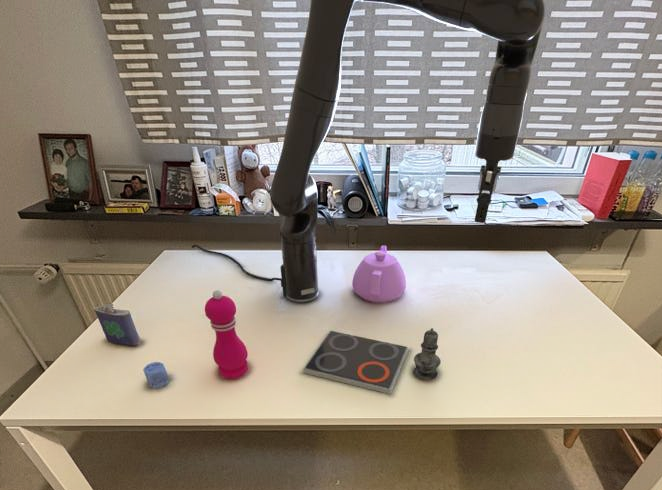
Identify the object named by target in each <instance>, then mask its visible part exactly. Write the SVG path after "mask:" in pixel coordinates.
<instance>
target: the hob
mask: <svg viewBox="0 0 662 490" xmlns="http://www.w3.org/2000/svg"><path fill="white" fill-rule="evenodd" d="M408 352H409V346H406V345H402V344H401V345H400V344H395V343H391V342H386V341H381V340H377V339H373V338H367V337H363V336H357V335H353V334H349V333H344V332H340V331H334V330H330V331H329V332H328V333H327V334H326V336H325V338H324V339H323V340H322V342H321V343H320V345H319V346H318V347H317V349H316V350H315V352H314V353H313V355H312V356H311V357H310V359H309V360H308V362H307V363H306V364H305V366H304V367H303V370H302V371H303V373H304V374H306V375H311V376H315V377H319V378H322V379H327V380H330V381H331V380H332V381H336V382H339V383H343V384H347V385H351V386H356V387H361V388H363V389H368V390H372V391H376V392H380V393H384V394H388V395H391V393H392V391H393V388H394V386H395V384H396V381H397V380H398V377H399V375H400V371H401V370H402V367H403V364H404V362H405V360H406V358H407V354H408Z"/></svg>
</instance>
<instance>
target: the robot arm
mask: <svg viewBox="0 0 662 490" xmlns="http://www.w3.org/2000/svg"><path fill="white" fill-rule="evenodd" d="M359 2H360V3H376V4H377V3H379V4H386V5H391V6H395V7H398V8H402V9H406V10H408V11H411V12H413V13H416V14H418V15H420V16H423V17H425V18H427V19H429V20H432V21H435V22H438V23H442V24H444V25H447V26H450V27H454V28H457V29H460V30H465V31H470V32H478V33H480V34H482V35H484V36H487V37H490V38H492V39H495V40H497V44H496V45H497V46H496V51H495V58H494V64H493V66H492V68H491V71H490V74H489V78H488V83H487V89H486V94H485V99H484V104H483V107H482V111H481V114H480V119H479V125H478V131H477V135H476V140H475V141H476V142H475V147H474V157H475V158H478V159H480V160H485V165H484V164H481V166H480V170H479V175H478V178H479V180H478V185H477V193H478V196H477V198H476V202H477V205H476V210H475V214H474V215H475V216H474V222H475V223H481V224H485V222H486V221H487V217H488V211H489V206H490V205H491V203H492V196H493V195H494V194H495V193H496V189H497V184H498V180H500V177H501V171H502V166H499V162H501V161H503V162H505V161H509V160H512V159H513V158H514V155H515V152H516V147H517V143H518V139H519V135H520V131H521V126H522V122H523V116H524V107H525V102H526V98H527V94H528V90H529V85H530V80H531V74H532V73H531V72H532V65H533V61H534V58H535V55H536V50H537V47H538V44H539V40H540V36H541V33H542V29H543V25H544V22H545V16H546V5H545V1H544V0H310V7H309V13H308V22H307V26H306V31H305V36H304V39H303V43H302V50H301V54H300V59H299V64H298V69H297V73H296V77H295V81H294V86H293V92H292V97H291V102H290V107H289V113H288V119H287V122H286V123H287V124H286V128H285V132H284V138H283V143H282V149H281V151H280V152H281V153H280V155H279V159H278V163H277V166H276V169H275V172H274V175H273V178H272V181H271V185H270V189H269V190H270V191H269V196H270V202H271V205H272V207H273V209H274V210H275V212H277V213H278V214H279V215H280V216H282V217H283V221H282V223H281V224H280V227H279V238H280V246H281V247H280V248H281V256H282V264H281V265H280V266H279V267H280V268H279V269H280V277H272V278H271V277H262V276H259V275H256V274H253V273H251V272H249V271H246V270H245V268H244V267H243V266H242V264H241V263H240V262H239V261H237V260H236V259H235V258H234V257H232V256H230V255H229V254H226V253H223V252H219V251H214V250H210V249H209V250H208V249H206V248H203V247H201V246H200V245H198V244H192V246H191V248H192V249H194V248H195V247H196V248H197V249H199V250H201V251H203V252H205V253H208V254H214V255H219V256H223V257H225V258H228V259H230V260H231V261H232V262H234V263H235V264H236V265H238V267H239V268H240V270H242V272H243V273H244V274H246V275H247V276H249V277H252V278H255V279H258V280H261V281H262V280H263V281H267V282H273V281H280V287H281V288H282V295H283V298H286V299H287V300H288V301H290V302H292V303H295V304H296V303H297V304H307V303H311V302H313V301H315V300H317V298H318V297H319V294H320V293H319V280H318V279H319V278H318V276H319V275H318V260H317V256H318V255H317V238H316V231H317V227H318V222H319V212H318V211H319V205H318V204H319V202H318V199H319V198H318V188H317V184H316V181H315V179H314V178H313V176H312V175H311V174H310V170H311V166H312V163H313V162H314V159H315V157H316V156H317V153H318V151H319V150H320V148H321V146H322V144H323V142H324V140H325V139H326V136H327V134H328V132H329V130H330V128H331V125H332V123H333V120H334V117H335V113H336V109H337V105H338V102H339V99H340V93H341V89H342V88H341V87H342V78H343V76H342V75H343V65H342V64H343V47H344V39H345V35H346V31H347V28H348V23H349V20H350V18H351V14H352V10H353V7H354V5H355V4H356V3H359Z"/></svg>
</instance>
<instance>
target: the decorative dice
mask: <svg viewBox="0 0 662 490" xmlns="http://www.w3.org/2000/svg"><path fill="white" fill-rule="evenodd" d="M142 371H143V374H144V376H145V378H146V381H147V384H148V386H149V387H150V388H154V389H157V388H159V389H160V388H162V387H164V386H166V385H167V384H168V383H169V381H170V377H169V374H168V372H167V369H166V367H165V365H164V363H163V362H159V361H153V362H150V363H147V365H145V367H144V368H143V369H142Z"/></svg>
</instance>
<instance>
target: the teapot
mask: <svg viewBox="0 0 662 490" xmlns="http://www.w3.org/2000/svg"><path fill="white" fill-rule="evenodd" d="M406 279H407V278H406V275H405V272H404V269H403V267H402V265H401V264H400V262H399V260H398V258H396V257H395V256H394V255H392V254H390V253H387V245H381V247H380V250H377V251H375V252H372V253H369V254H366V255H365V256H364V257H363V259H362V260H361V261H360V263H358V265H357V267H356V269H355V271H354V273H353V276H352V281H351V283H352V284H351V285H352V289H353V291H354V292H355V293H356V294H357V295H358V296H359V297H360V298H361V299H363V300H365V301H368V302H372V303H388V302H392V301H395V300H397V299H398V298H399V297H400V296H402V295H403V294H404V293H405V290H406V288H407V280H406Z"/></svg>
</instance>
